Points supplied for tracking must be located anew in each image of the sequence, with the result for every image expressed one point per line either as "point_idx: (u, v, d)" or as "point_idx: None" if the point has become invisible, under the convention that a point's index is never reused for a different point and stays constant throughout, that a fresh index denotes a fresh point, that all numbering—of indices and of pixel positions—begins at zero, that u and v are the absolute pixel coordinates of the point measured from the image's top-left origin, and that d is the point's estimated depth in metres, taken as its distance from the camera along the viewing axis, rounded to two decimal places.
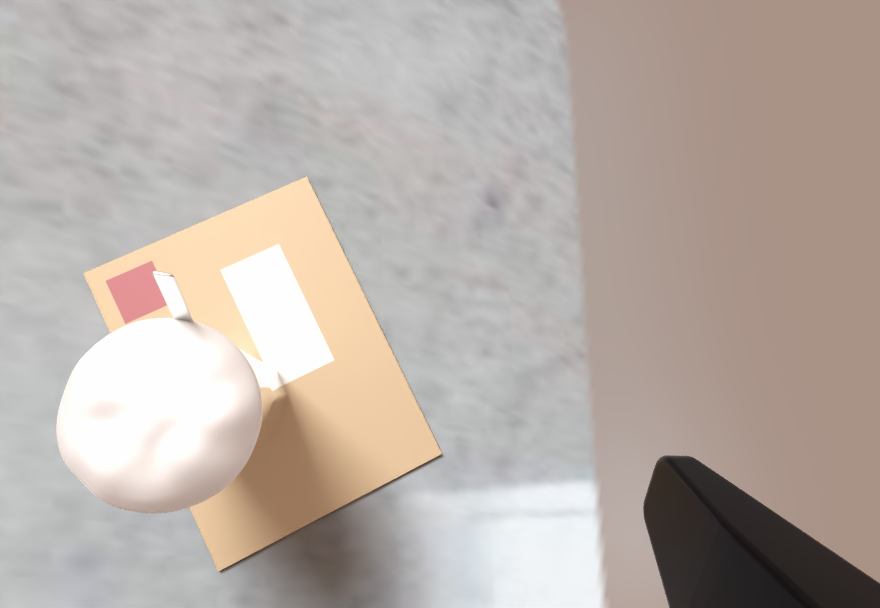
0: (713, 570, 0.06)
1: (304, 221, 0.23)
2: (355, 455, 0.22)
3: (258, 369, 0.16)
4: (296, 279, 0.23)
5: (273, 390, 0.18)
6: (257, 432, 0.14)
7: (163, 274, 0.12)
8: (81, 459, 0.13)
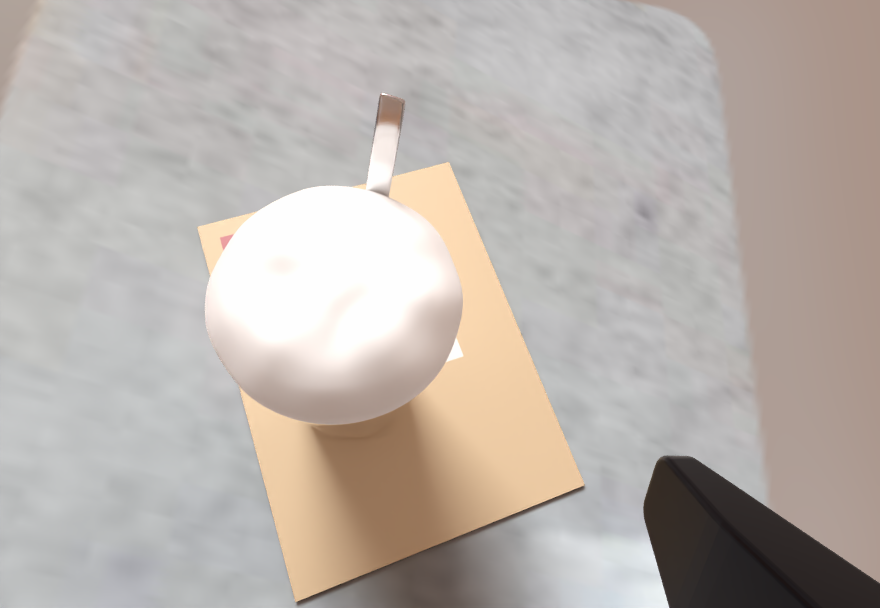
0: (713, 570, 0.06)
1: (442, 205, 0.21)
2: (479, 473, 0.18)
3: None
4: None
5: None
6: None
7: (393, 97, 0.10)
8: (241, 321, 0.09)
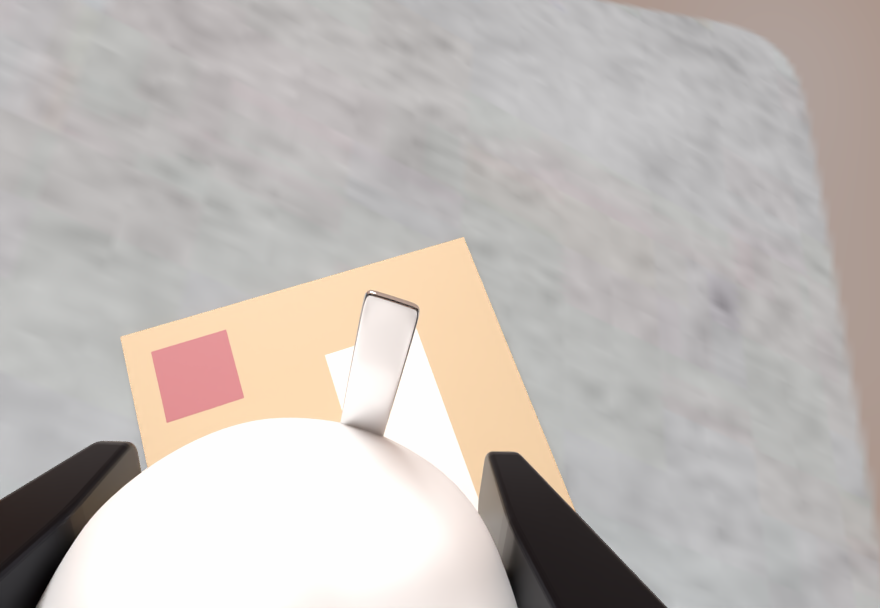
0: None
1: (455, 298, 0.15)
2: None
3: None
4: (436, 383, 0.15)
5: None
6: None
7: (396, 300, 0.05)
8: None
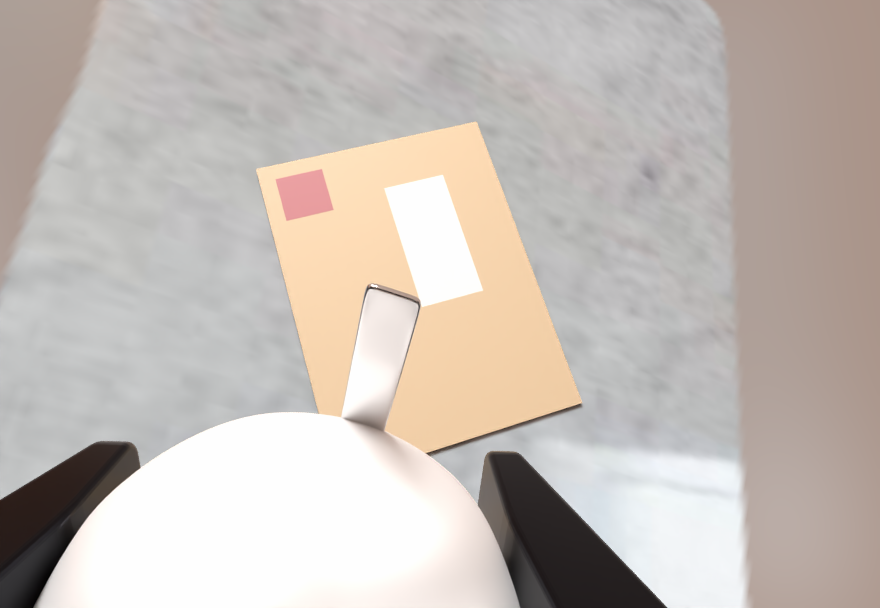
0: None
1: (469, 159, 0.23)
2: (492, 388, 0.21)
3: None
4: (454, 210, 0.23)
5: None
6: None
7: (396, 294, 0.05)
8: None
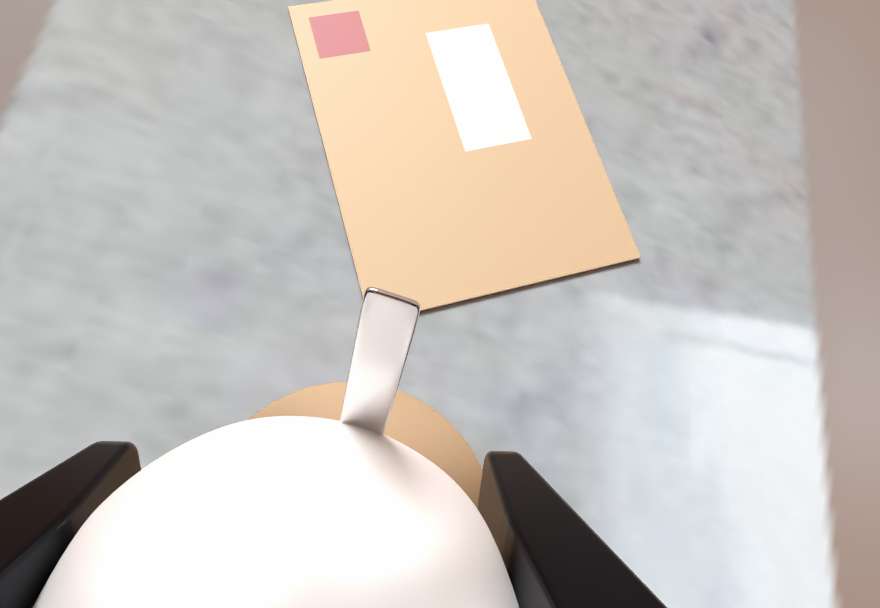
0: None
1: (517, 10, 0.22)
2: (541, 238, 0.19)
3: None
4: (501, 59, 0.21)
5: None
6: None
7: (396, 297, 0.05)
8: None
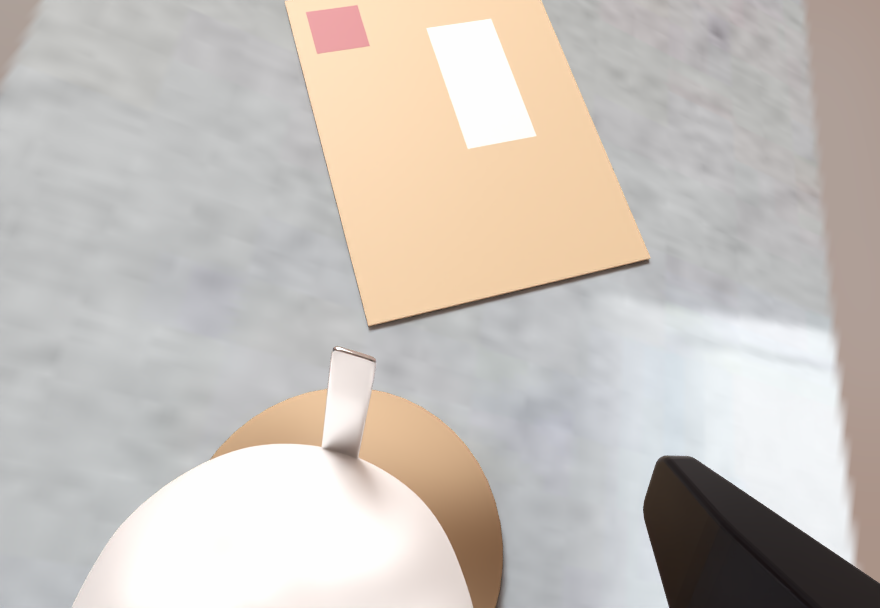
0: (713, 570, 0.06)
1: (520, 5, 0.21)
2: (547, 238, 0.18)
3: None
4: (504, 55, 0.20)
5: None
6: None
7: (356, 355, 0.06)
8: None
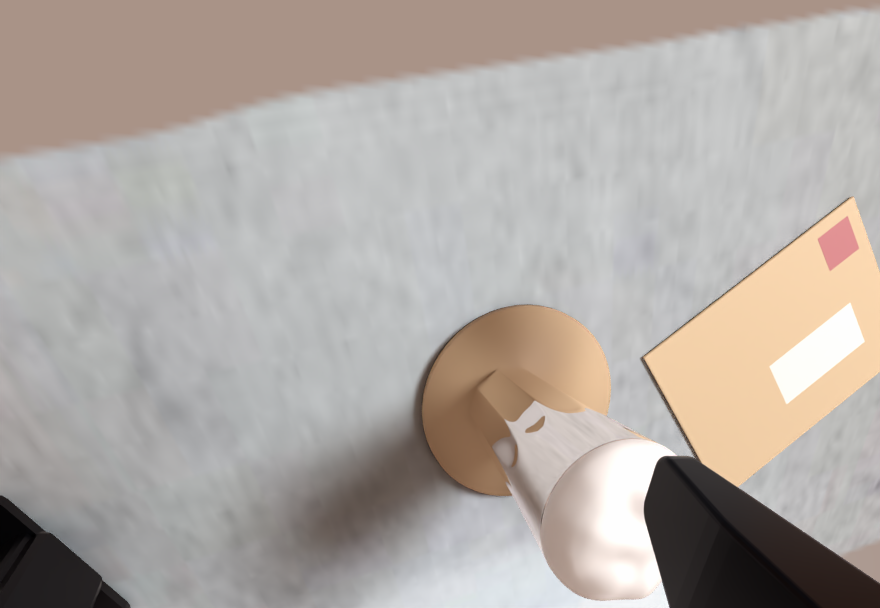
0: (713, 570, 0.06)
1: (878, 356, 0.28)
2: (720, 436, 0.27)
3: None
4: (839, 360, 0.28)
5: None
6: None
7: None
8: (600, 505, 0.14)
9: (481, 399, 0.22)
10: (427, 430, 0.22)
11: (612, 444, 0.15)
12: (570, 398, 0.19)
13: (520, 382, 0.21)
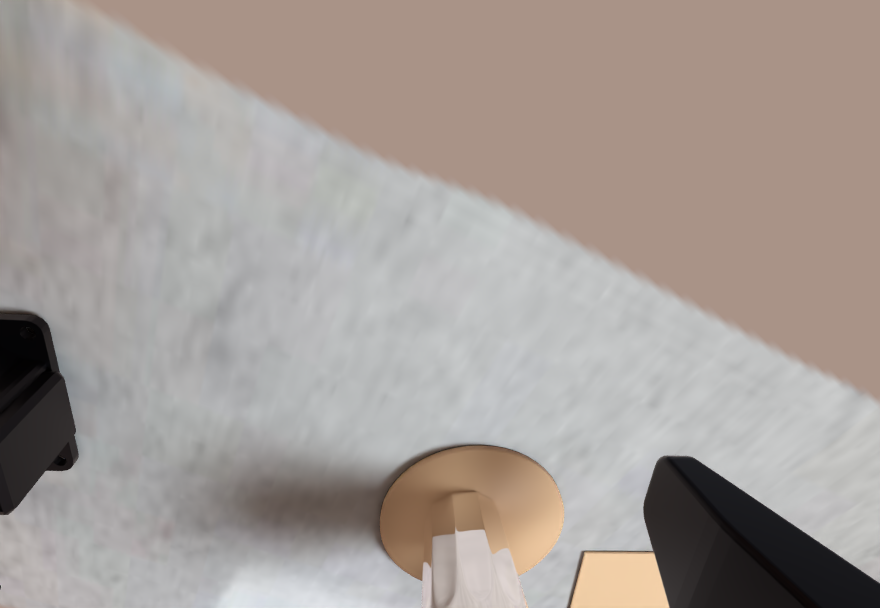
0: (713, 570, 0.06)
1: None
2: None
3: None
4: None
5: None
6: None
7: None
8: None
9: (449, 510, 0.23)
10: (391, 495, 0.24)
11: None
12: (516, 579, 0.21)
13: (488, 525, 0.23)
